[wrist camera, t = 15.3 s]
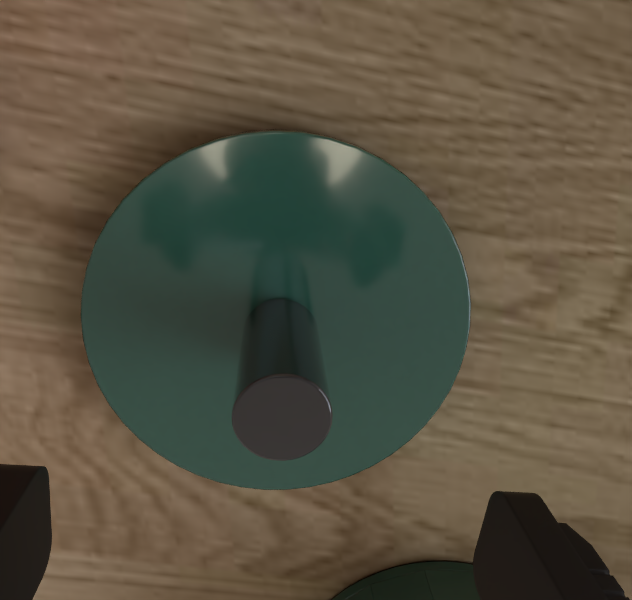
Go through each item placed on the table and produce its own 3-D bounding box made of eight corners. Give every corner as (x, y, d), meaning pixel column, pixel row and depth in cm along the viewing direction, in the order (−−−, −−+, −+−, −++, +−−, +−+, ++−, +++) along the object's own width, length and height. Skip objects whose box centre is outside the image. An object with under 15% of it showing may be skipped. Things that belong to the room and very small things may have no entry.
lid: (497, 152, 17) (606, 184, 12) (423, 477, 22) (477, 619, 16) (87, 103, 16) (-18, 112, 10) (95, 459, 20) (24, 606, 15)
